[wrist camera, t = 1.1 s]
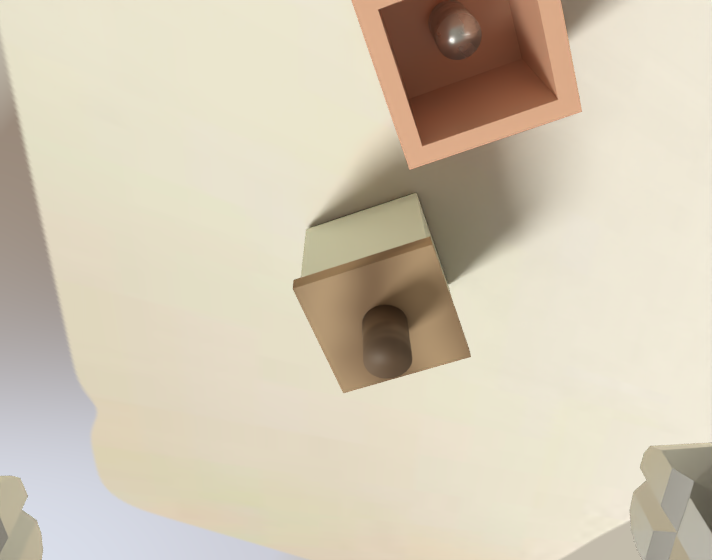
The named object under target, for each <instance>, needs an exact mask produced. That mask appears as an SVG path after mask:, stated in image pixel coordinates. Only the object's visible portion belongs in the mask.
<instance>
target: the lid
mask: <svg viewBox="0 0 712 560" xmlns="http://www.w3.org/2000/svg"><path fill="white" fill-rule="evenodd" d="M293 290H294V292H295V294H296V297H297V299H298V301H299V303H300V305H301V307H302V309H303V311H304V313H305V315H306V317H307V319H308V321H309V323H310V325H311V327H312V329H313V332H314V334H315V336H316V338H317V340H318V342H319V344H320V346H321V348H322V350H323V352H324V354H325V356H326V358H327V360H328V362H329V364H330V367H331V369H332V371H333V373H334V375H335V377H336V379H337V381H338V383H339V385H340V387H341V389H342V391H343V393H346V392H349V391H353V390H356V389H360V388H363V387H367V386H370V385H374V384H377V383H381V382H384V381H388V380H391V379H395V378H398V377H402V376H405V375H409V374H412V373H416V372H419V371H423V370H426V369H430V368H433V367H437V366H440V365H444V364H447V363H451V362H454V361H458V360H461V359H465V358H468V357H471V355H470V351H469V347H468V344H467V341H466V339H465V336H464V333H463V330H462V327H461V324H460V321H459V318H458V315H457V312H456V309H455V306H454V304H453V301H452V298H451V295H450V292H449V289H448V286H447V283H446V280H445V277H444V274H443V272H442V269H441V266H440V263H439V260H438V257H437V254H436V251H435V248H434V245H433V242H432V240H431V237H427V238H423V239H420V240H417V241H414V242H411V243H408V244H405V245H402V246H398V247H395V248H392V249H389V250H386V251H383V252H380V253H376V254H373V255H370V256H367V257H364V258H361V259H358V260H355V261H351V262H348V263H345V264H342V265H339V266H336V267H333V268H330V269H326V270H323V271H320V272H317V273H314V274H311V275H308V276H305V277H301V278H298V279H295V280H294V283H293Z"/></svg>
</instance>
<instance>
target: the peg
mask: <svg viewBox="0 0 712 560" xmlns="http://www.w3.org/2000/svg"><path fill="white" fill-rule="evenodd" d="M428 25H429V30H430V32H431V34H432V36H433V38H434V41H435V43H436V45H437V47H438V49H439V50H440V52H441V53H442V54H443V55H444V56H445V57H447V58H449V59H452V60H462V59H465V58H468V57H469V56H471V55H472V54H473V53H474V52H475V51H476V50H477V48H478V47H479V45H480V42H481V36H482V33H481V28H480V25H479V23H478V22H477V20H476V19H475V18H474V17H473V15H472V14H471V13H470V12H469V10H468V9H467V8H466V7H465V6H464V5H463V4H462V3H461V2H459V1H456V0H445V1H442V2H440V3H439V4H437V5H436V6H435V7H434V8H433V10H432V11H431V13H430V16H429V21H428Z"/></svg>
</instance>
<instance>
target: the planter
mask: <svg viewBox="0 0 712 560" xmlns="http://www.w3.org/2000/svg"><path fill="white" fill-rule="evenodd" d="M442 1H445V0H352V3H353V6H354V9H355V12H356V15H357V18H358V21H359V24H360V26H361V29H362V32H363V35H364V38H365V41H366V44H367V47H368V50H369V53H370V56H371V59H372V62H373V64H374V67H375V70H376V73H377V76H378V79H379V82H380V85H381V88H382V91H383V94H384V97H385V100H386V103H387V105H388V108H389V111H390V114H391V117H392V120H393V123H394V126H395V129H396V132H397V135H398V138H399V141H400V143H401V146H402V149H403V152H404V155H405V158H406V161H407V164H408V167H409V170H411V169H414V168H417V167H420V166H423V165H426V164H429V163H431V162H434V161H437V160H440V159H443V158H446V157H449V156H452V155H455V154H458V153H461V152H464V151H467V150H470V149H473V148H476V147H479V146H482V145H485V144H488V143H491V142H494V141H496V140H499V139H502V138H505V137H508V136H511V135H514V134H517V133H520V132H523V131H526V130H529V129H532V128H535V127H538V126H541V125H544V124H547V123H550V122H553V121H556V120H559V119H562V118H564V117H567V116H570V115H573V114H576V113H579V112H582V109H581V104H580V98H579V93H578V88H577V83H576V77H575V72H574V67H573V62H572V56H571V51H570V46H569V41H568V35H567V30H566V25H565V20H564V14H563V9H562V4H561V0H456V1H459V2H461V3H462V4H463V5H464V6H465V7H466V8H467V9H468V10H469V12H470V13H471V14H472V15H473V17H474V18H475V19H476V20H477V22H478V23H479V25H480V28H481V33H482V36H481V42H480V45H479V47H478V48H477V50H476V51H475V52H474V53H473V54H472V55H471V56H469V57H468V58H465V59H462V60H452V59H449V58H447V57H445V56H444V55H443V54H442V53H441V52H440V50H439V49H438V47H437V45H436V43H435V41H434V38H433V36H432V34H431V32H430V30H429V25H428V21H429V16H430V13H431V11H432V10H433V8H434V7H435V6H436V5H437V4H439V3H440V2H442Z"/></svg>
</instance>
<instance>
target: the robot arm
mask: <svg viewBox="0 0 712 560" xmlns="http://www.w3.org/2000/svg"><path fill="white" fill-rule="evenodd" d="M640 469H641V471H642V472H643V474H644V476H645V478H646V481H645V482H644V483H643V484H642V485H641V486H639V487H638V488H637V489H636V490H635V491H634V492H633V496H632V501H631V506H630V521H631V531H632V535H633V538H634V542H635V545H636V548H637V550H638V552H639V554H640V557H641V559H642V560H712V442H711V443H693V444H675V445H657V446H650V447H649V448H648V449H647V450H646V451H645V453H644V455H643V458H642V462H641V465H640ZM27 497H28V495H27V493H26V491H25V488H24V486H23V483H22V481H21V479H20V478H18V477H14V476H0V560H42V553H43V546H42V536H41V531H40V528H39V526H38V523H37V520H35V519H34V518H33V517H31V516H30V515H29V514H27V513H26V512H24V511H23V510H22V508H23V506H24V503H25V501H26V499H27Z"/></svg>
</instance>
